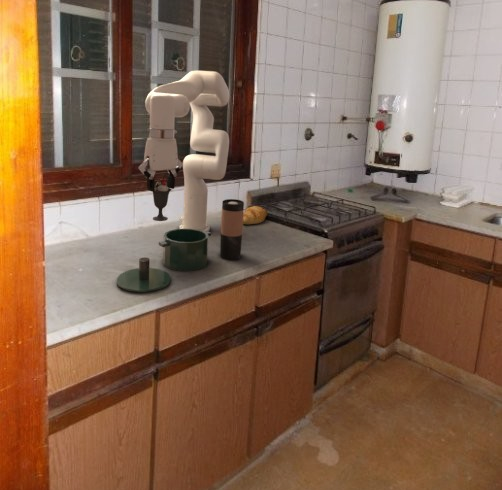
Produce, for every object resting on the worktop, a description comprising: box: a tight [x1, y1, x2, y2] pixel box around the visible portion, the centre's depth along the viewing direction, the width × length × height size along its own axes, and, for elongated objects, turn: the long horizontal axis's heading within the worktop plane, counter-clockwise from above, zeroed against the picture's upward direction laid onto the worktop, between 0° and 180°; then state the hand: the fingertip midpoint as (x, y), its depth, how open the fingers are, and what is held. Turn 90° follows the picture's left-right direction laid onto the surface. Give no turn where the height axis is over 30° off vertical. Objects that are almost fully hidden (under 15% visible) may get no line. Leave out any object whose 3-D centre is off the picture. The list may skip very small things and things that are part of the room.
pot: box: [158, 228, 212, 272], centre depth 147 cm, size 15×20×10 cm
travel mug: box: [219, 198, 245, 261], centre depth 154 cm, size 8×8×20 cm
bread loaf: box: [243, 205, 268, 225], centre depth 200 cm, size 21×10×8 cm, turn 150°
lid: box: [116, 257, 172, 293], centre depth 130 cm, size 16×16×7 cm
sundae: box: [152, 174, 173, 222], centre depth 142 cm, size 7×7×15 cm
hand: (161, 188), depth 141 cm, fingers closed on sundae, 6 cm apart
